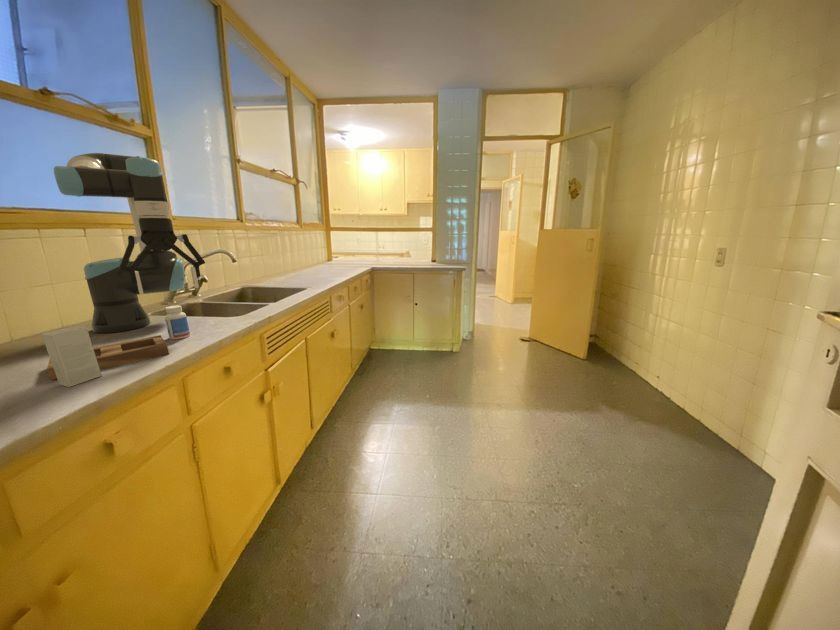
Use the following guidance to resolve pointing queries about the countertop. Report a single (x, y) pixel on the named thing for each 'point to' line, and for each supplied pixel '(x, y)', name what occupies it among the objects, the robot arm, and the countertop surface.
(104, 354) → the socket block
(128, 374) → the countertop surface
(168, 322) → the pill bottle
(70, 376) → the skincare box
